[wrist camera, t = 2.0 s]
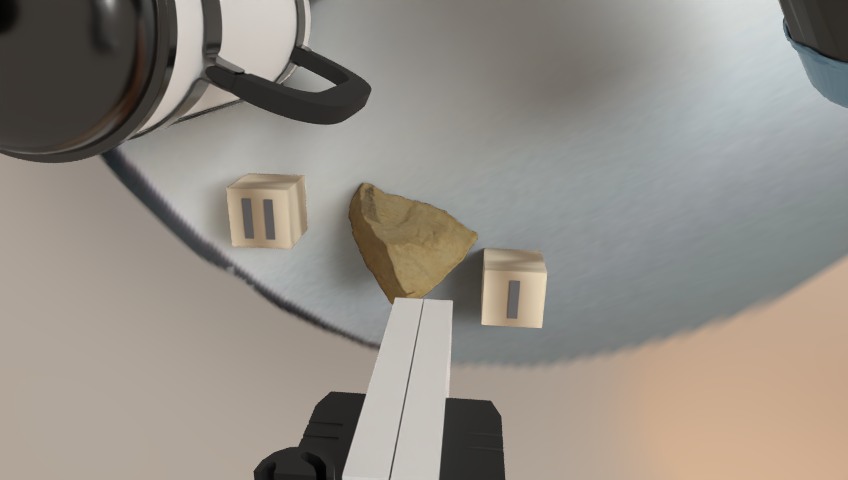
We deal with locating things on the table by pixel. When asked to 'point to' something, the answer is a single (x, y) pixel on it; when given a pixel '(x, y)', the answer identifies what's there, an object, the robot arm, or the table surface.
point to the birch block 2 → (513, 288)
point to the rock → (406, 241)
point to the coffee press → (152, 70)
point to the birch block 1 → (267, 210)
